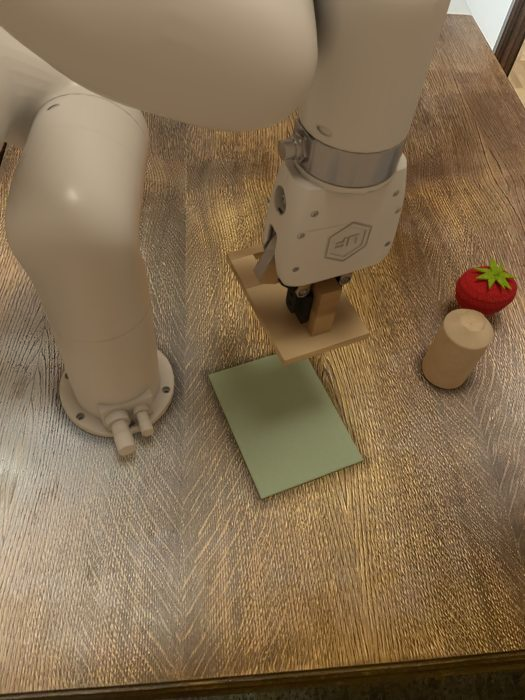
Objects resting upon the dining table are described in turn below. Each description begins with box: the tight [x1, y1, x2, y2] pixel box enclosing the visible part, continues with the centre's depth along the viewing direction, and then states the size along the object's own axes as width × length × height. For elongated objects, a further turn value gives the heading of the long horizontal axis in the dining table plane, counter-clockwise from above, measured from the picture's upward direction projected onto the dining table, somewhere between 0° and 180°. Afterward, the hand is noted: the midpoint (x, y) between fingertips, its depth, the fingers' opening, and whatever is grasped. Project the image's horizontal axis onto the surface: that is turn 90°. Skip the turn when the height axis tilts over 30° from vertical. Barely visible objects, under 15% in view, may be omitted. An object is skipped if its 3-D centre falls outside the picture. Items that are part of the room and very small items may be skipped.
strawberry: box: [454, 256, 518, 318], centre depth 74 cm, size 6×8×10 cm
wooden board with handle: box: [226, 243, 371, 366], centre depth 57 cm, size 14×9×7 cm, turn 24°
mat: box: [207, 353, 364, 501], centre depth 68 cm, size 16×12×1 cm
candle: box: [421, 308, 495, 390], centre depth 69 cm, size 6×6×10 cm
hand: (310, 307), depth 57 cm, fingers closed on wooden board with handle
